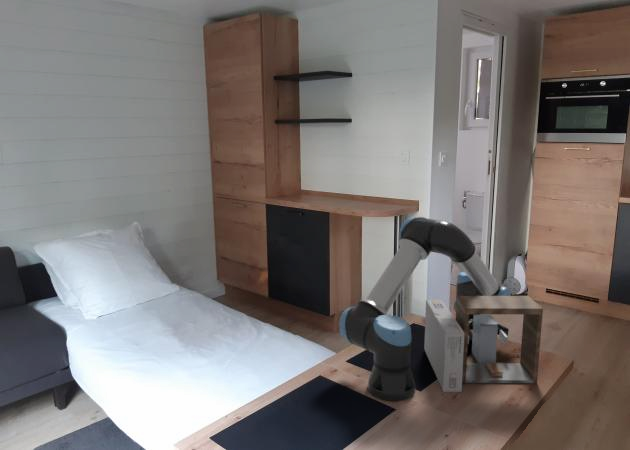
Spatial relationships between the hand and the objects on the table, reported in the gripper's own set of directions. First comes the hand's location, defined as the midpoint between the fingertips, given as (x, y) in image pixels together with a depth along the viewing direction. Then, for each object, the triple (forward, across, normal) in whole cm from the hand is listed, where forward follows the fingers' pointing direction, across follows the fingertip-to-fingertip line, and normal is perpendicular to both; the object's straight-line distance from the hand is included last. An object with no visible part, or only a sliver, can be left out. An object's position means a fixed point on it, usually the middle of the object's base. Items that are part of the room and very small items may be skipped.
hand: (487, 340), depth 175 cm
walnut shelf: (+9, 0, -8) cm, 12 cm away
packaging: (+5, +17, -8) cm, 20 cm away
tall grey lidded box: (-3, 0, -8) cm, 9 cm away
